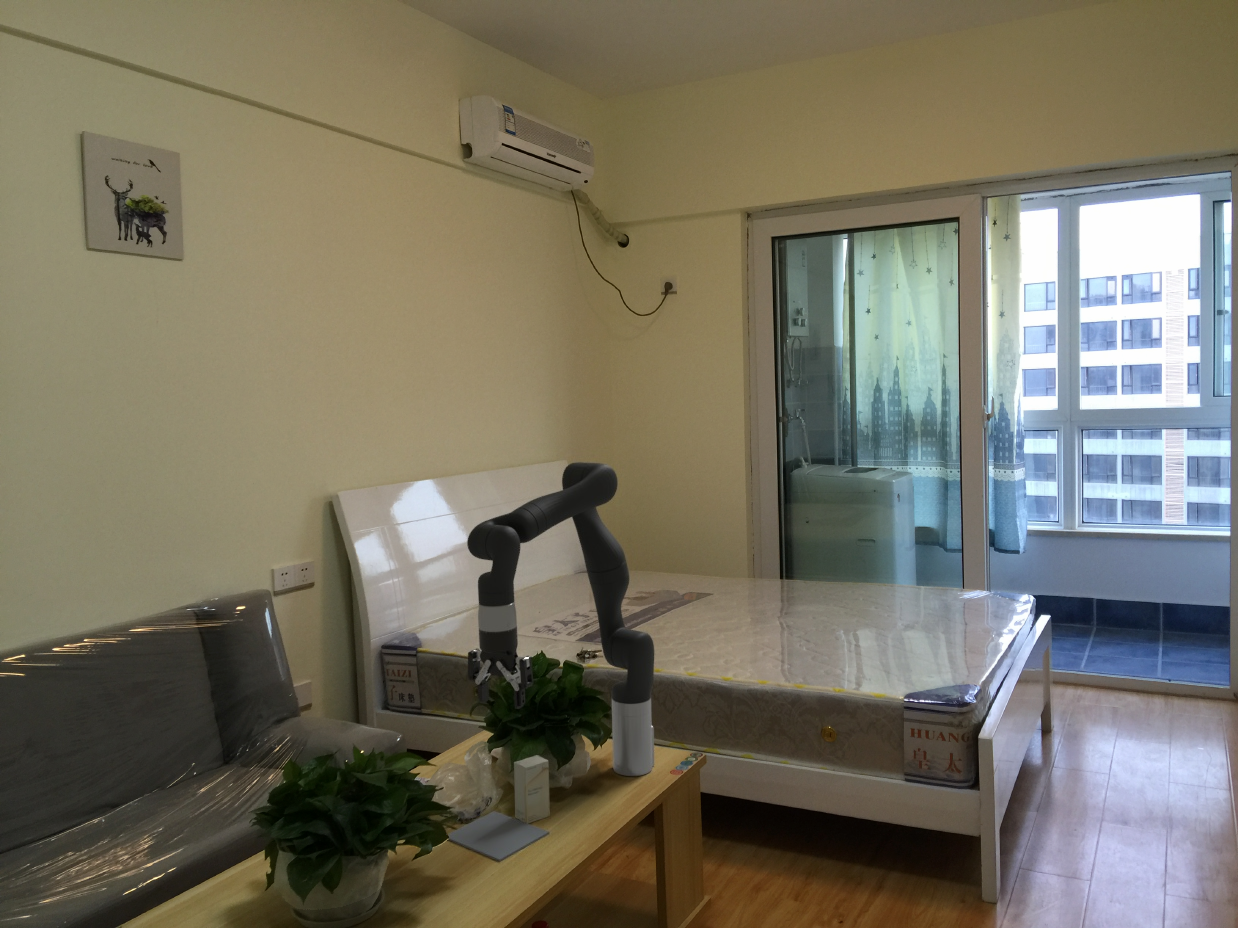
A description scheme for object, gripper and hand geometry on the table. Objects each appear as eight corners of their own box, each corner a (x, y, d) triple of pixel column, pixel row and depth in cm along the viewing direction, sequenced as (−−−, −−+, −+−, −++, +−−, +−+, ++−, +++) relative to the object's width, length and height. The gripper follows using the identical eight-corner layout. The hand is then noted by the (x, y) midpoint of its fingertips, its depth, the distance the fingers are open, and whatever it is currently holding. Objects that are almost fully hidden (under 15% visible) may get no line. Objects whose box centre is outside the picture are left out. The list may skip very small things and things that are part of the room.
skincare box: (526, 824, 199) (524, 768, 198) (514, 817, 202) (512, 761, 201) (551, 815, 203) (549, 759, 202) (538, 808, 206) (537, 753, 205)
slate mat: (494, 812, 205) (494, 810, 205) (549, 833, 195) (549, 831, 195) (444, 837, 194) (443, 835, 194) (499, 861, 184) (499, 859, 184)
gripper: (538, 623, 189) (541, 703, 191) (480, 616, 196) (484, 693, 198) (516, 633, 183) (520, 716, 184) (457, 625, 190) (461, 705, 191)
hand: (501, 704), depth 191 cm, fingers open, 8 cm apart
